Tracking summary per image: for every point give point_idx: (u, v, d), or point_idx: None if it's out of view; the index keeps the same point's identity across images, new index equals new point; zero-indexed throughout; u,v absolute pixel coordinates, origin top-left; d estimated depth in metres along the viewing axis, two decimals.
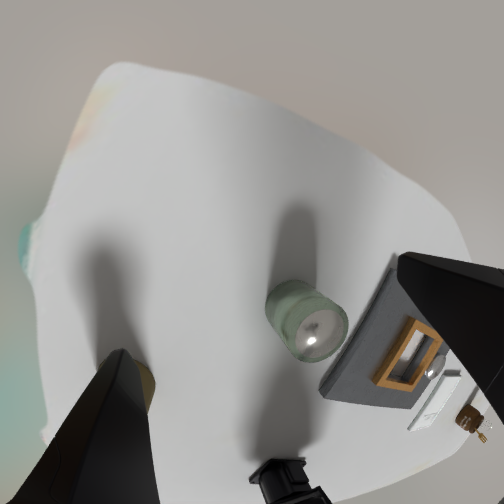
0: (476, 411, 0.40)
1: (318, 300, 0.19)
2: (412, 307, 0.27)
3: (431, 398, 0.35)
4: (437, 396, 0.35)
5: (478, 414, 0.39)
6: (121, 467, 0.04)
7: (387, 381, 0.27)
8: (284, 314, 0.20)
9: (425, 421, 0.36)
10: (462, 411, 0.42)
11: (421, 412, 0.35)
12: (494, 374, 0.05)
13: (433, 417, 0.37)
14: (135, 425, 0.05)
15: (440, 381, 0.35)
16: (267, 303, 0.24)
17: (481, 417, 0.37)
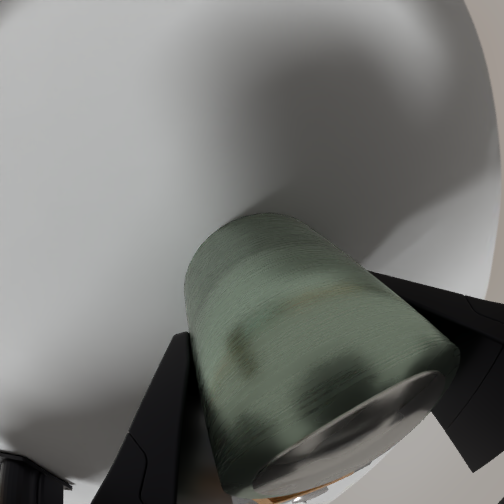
0: None
1: None
2: None
3: None
4: None
5: None
6: (204, 456, 0.04)
7: None
8: (307, 295, 0.04)
9: None
10: None
11: None
12: (455, 413, 0.04)
13: None
14: None
15: None
16: (228, 227, 0.08)
17: None
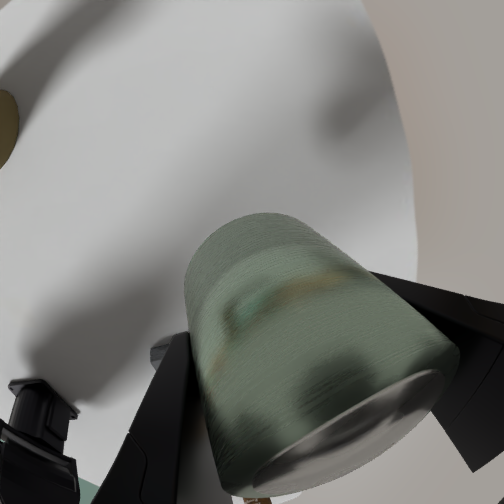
0: (269, 502, 0.41)
1: None
2: None
3: None
4: None
5: None
6: (204, 456, 0.04)
7: None
8: (307, 294, 0.04)
9: None
10: None
11: None
12: (455, 413, 0.04)
13: None
14: None
15: None
16: (228, 226, 0.08)
17: None
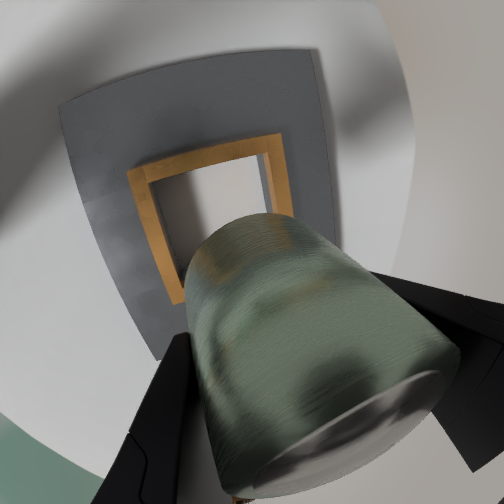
0: None
1: None
2: (288, 123, 0.16)
3: None
4: None
5: None
6: (204, 456, 0.04)
7: (148, 194, 0.14)
8: (308, 295, 0.04)
9: None
10: None
11: None
12: (454, 413, 0.04)
13: None
14: None
15: None
16: (228, 227, 0.08)
17: None
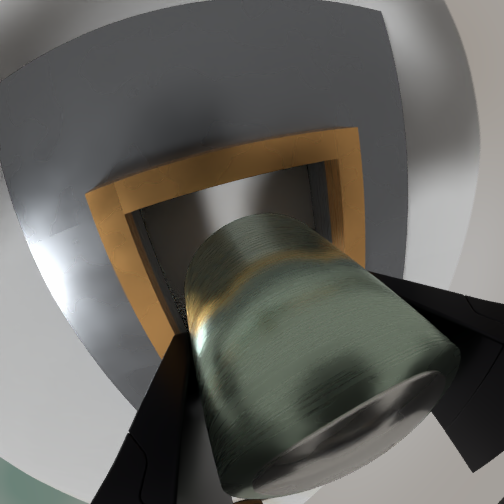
0: None
1: None
2: (361, 113, 0.09)
3: None
4: None
5: None
6: (204, 456, 0.04)
7: (126, 235, 0.08)
8: (308, 295, 0.04)
9: None
10: (247, 502, 0.29)
11: None
12: (455, 413, 0.04)
13: None
14: None
15: None
16: (228, 227, 0.08)
17: None
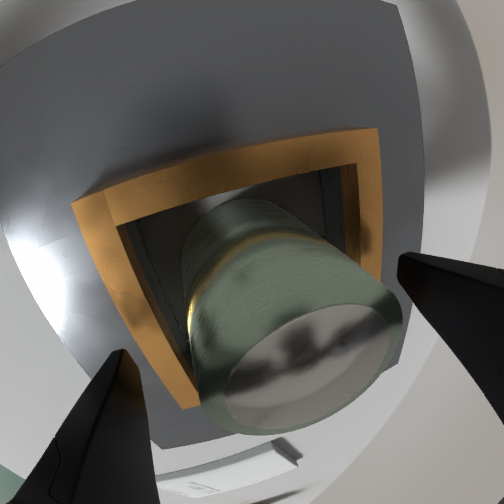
0: None
1: None
2: (378, 112, 0.08)
3: (220, 466, 0.17)
4: (234, 470, 0.17)
5: None
6: (121, 467, 0.04)
7: (118, 249, 0.07)
8: (266, 246, 0.06)
9: (189, 489, 0.18)
10: None
11: (187, 473, 0.17)
12: (494, 374, 0.05)
13: (209, 492, 0.20)
14: (135, 425, 0.05)
15: (257, 450, 0.18)
16: (216, 209, 0.09)
17: None
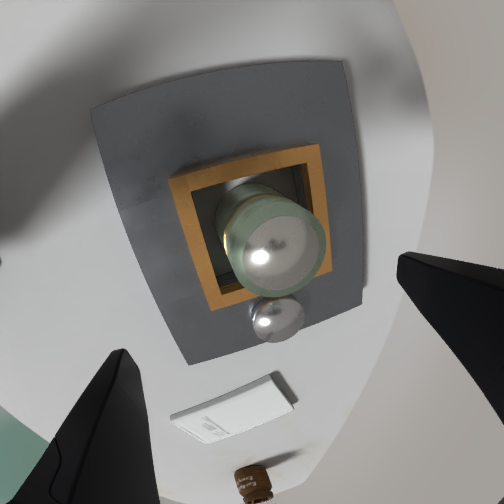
0: (268, 482, 0.34)
1: None
2: (324, 133, 0.16)
3: (229, 397, 0.25)
4: (240, 402, 0.26)
5: (268, 487, 0.33)
6: (121, 467, 0.04)
7: (190, 203, 0.15)
8: (260, 198, 0.14)
9: (203, 429, 0.27)
10: (251, 467, 0.36)
11: (203, 407, 0.25)
12: (494, 374, 0.05)
13: (219, 435, 0.28)
14: (135, 425, 0.05)
15: (259, 382, 0.26)
16: (235, 188, 0.17)
17: (270, 494, 0.32)
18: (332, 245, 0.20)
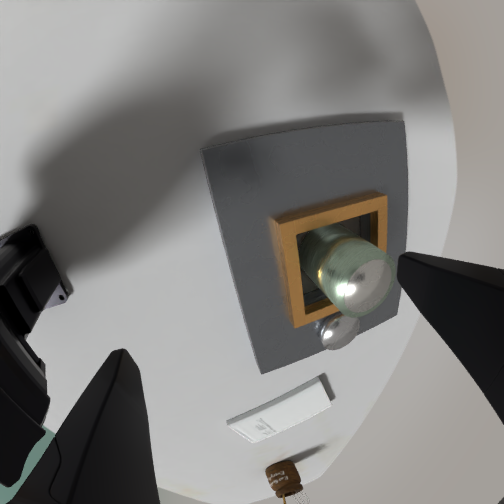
0: (298, 475, 0.37)
1: None
2: (388, 184, 0.19)
3: (284, 399, 0.29)
4: (292, 403, 0.29)
5: (298, 480, 0.36)
6: (121, 467, 0.04)
7: (294, 244, 0.18)
8: (352, 243, 0.17)
9: (255, 430, 0.30)
10: (282, 463, 0.39)
11: (259, 410, 0.29)
12: (494, 374, 0.05)
13: (266, 434, 0.31)
14: (135, 425, 0.05)
15: (309, 383, 0.29)
16: None
17: (300, 486, 0.35)
18: None
